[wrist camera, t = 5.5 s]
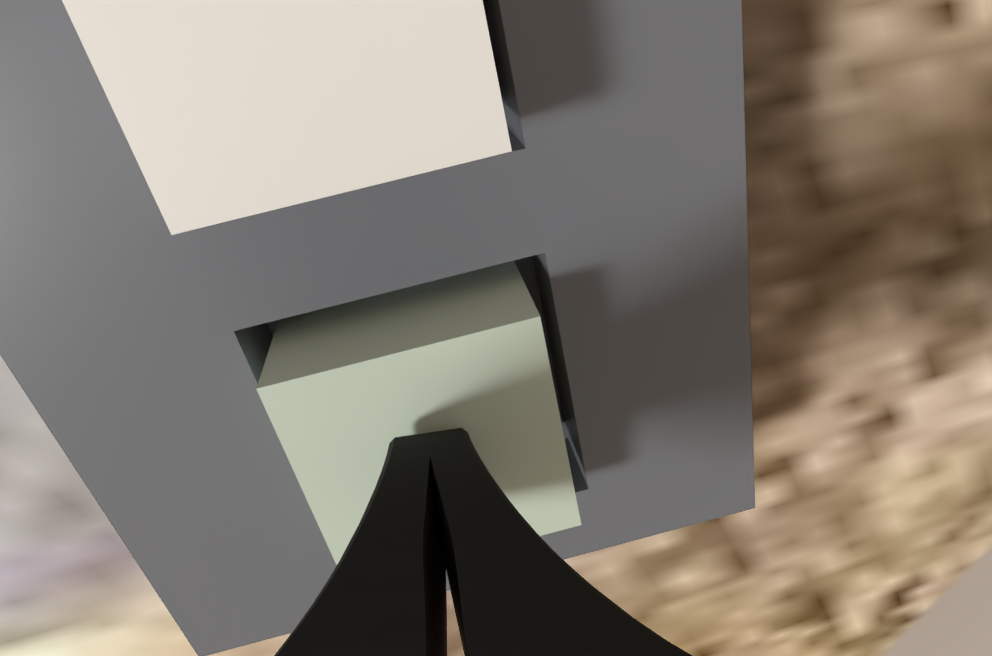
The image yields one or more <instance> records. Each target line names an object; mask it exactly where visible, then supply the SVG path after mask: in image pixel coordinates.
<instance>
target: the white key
mask: <svg viewBox="0 0 992 656" xmlns="http://www.w3.org/2000/svg"><path fill="white" fill-rule="evenodd" d="M62 2H63V4H64V6H65V8H66V10H67V12H68V15H69V17H70V19H71V21H72V23H73V25H74V27H75V30H76V32H77V34H78V36H79V38H80V40H81V42H82V45H83V47H84V49H85V51H86V53H87V55H88V57H89V59H90V62H91V64H92V66H93V68H94V70H95V72H96V74H97V77H98V79H99V81H100V83H101V85H102V87H103V89H104V92H105V94H106V96H107V98H108V100H109V102H110V104H111V107H112V109H113V111H114V113H115V115H116V117H117V119H118V122H119V124H120V126H121V128H122V130H123V132H124V134H125V137H126V139H127V141H128V143H129V145H130V147H131V149H132V152H133V154H134V156H135V158H136V160H137V162H138V164H139V167H140V169H141V171H142V173H143V175H144V177H145V179H146V182H147V184H148V186H149V188H150V190H151V192H152V194H153V197H154V199H155V201H156V203H157V205H158V207H159V209H160V212H161V214H162V216H163V218H164V220H165V222H166V224H167V227H168V229H169V231H170V233H171V235H174V234H178V233H182V232H186V231H190V230H195V229H199V228H203V227H207V226H211V225H215V224H219V223H223V222H227V221H231V220H235V219H239V218H243V217H247V216H251V215H255V214H260V213H264V212H268V211H272V210H276V209H280V208H284V207H288V206H292V205H296V204H300V203H304V202H308V201H312V200H316V199H320V198H325V197H329V196H333V195H337V194H341V193H345V192H349V191H353V190H357V189H361V188H365V187H369V186H373V185H377V184H381V183H386V182H390V181H394V180H398V179H402V178H406V177H410V176H414V175H418V174H422V173H426V172H430V171H434V170H438V169H442V168H446V167H451V166H455V165H459V164H463V163H467V162H471V161H475V160H479V159H483V158H487V157H491V156H495V155H499V154H503V153H507V152H511V151H512V149H511V144H510V139H509V134H508V129H507V123H506V118H505V113H504V108H503V103H502V98H501V93H500V87H499V82H498V77H497V72H496V67H495V62H494V57H493V51H492V46H491V41H490V36H489V31H488V26H487V21H486V15H485V10H484V5H483V0H62Z"/></svg>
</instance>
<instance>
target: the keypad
mask: <svg viewBox="0 0 992 656" xmlns="http://www.w3.org/2000/svg"><path fill="white" fill-rule="evenodd" d="M483 5H484V10H485V15H486V21H487V26H488V31H489V36H490V41H491V46H492V51H493V57H494V62H495V67H496V72H497V77H498V82H499V87H500V93H501V98H502V103H503V108H504V113H505V118H506V123H507V129H508V134H509V139H510V144H511V149H512V151H511V152H507V153H503V154H499V155H495V156H491V157H487V158H483V159H479V160H475V161H471V162H467V163H463V164H459V165H455V166H451V167H446V168H442V169H438V170H434V171H430V172H426V173H422V174H418V175H414V176H410V177H406V178H402V179H398V180H394V181H390V182H386V183H381V184H377V185H373V186H369V187H365V188H361V189H357V190H353V191H349V192H345V193H341V194H337V195H333V196H329V197H325V198H320V199H316V200H312V201H308V202H304V203H300V204H296V205H292V206H288V207H284V208H280V209H276V210H272V211H268V212H264V213H260V214H255V215H251V216H247V217H243V218H239V219H235V220H231V221H227V222H223V223H219V224H215V225H211V226H207V227H203V228H199V229H195V230H190V231H186V232H182V233H178V234H174V235H171V233H170V231H169V229H168V227H167V224H166V222H165V220H164V218H163V216H162V214H161V212H160V209H159V207H158V205H157V203H156V201H155V199H154V197H153V194H152V192H151V190H150V188H149V186H148V184H147V182H146V179H145V177H144V175H143V173H142V171H141V169H140V167H139V164H138V162H137V160H136V158H135V156H134V154H133V152H132V149H131V147H130V145H129V143H128V141H127V139H126V137H125V134H124V132H123V130H122V128H121V126H120V124H119V122H118V119H117V117H116V115H115V113H114V111H113V109H112V107H111V104H110V102H109V100H108V98H107V96H106V94H105V92H104V89H103V87H102V85H101V83H100V81H99V79H98V77H97V74H96V72H95V70H94V68H93V66H92V64H91V62H90V59H89V57H88V55H87V53H86V51H85V49H84V47H83V45H82V42H81V40H80V38H79V36H78V34H77V32H76V30H75V27H74V25H73V23H72V21H71V19H70V17H69V15H68V12H67V10H66V8H65V6H64V4H63V2H62V0H0V355H1V357H2V358H3V360H4V361H5V363H6V364H7V366H8V367H9V369H10V370H11V372H12V373H13V375H14V376H15V378H16V380H17V381H18V383H19V384H20V386H21V387H22V389H23V390H24V392H25V393H26V395H27V396H28V398H29V399H30V401H31V402H32V404H33V405H34V407H35V408H36V410H37V411H38V413H39V414H40V416H41V418H42V419H43V421H44V422H45V424H46V425H47V427H48V428H49V430H50V431H51V433H52V434H53V436H54V437H55V439H56V440H57V442H58V443H59V445H60V446H61V448H62V449H63V451H64V452H65V454H66V456H67V457H68V459H69V460H70V462H71V463H72V465H73V466H74V468H75V469H76V471H77V472H78V474H79V475H80V477H81V478H82V480H83V481H84V483H85V484H86V486H87V487H88V489H89V490H90V492H91V494H92V495H93V497H94V498H95V500H96V501H97V503H98V504H99V506H100V507H101V509H102V510H103V512H104V513H105V515H106V516H107V518H108V519H109V521H110V522H111V524H112V525H113V527H114V528H115V530H116V532H117V533H118V535H119V536H120V538H121V539H122V541H123V542H124V544H125V545H126V547H127V548H128V550H129V551H130V553H131V554H132V556H133V557H134V559H135V560H136V562H137V563H138V565H139V566H140V568H141V570H142V571H143V573H144V574H145V576H146V577H147V579H148V580H149V582H150V583H151V585H152V586H153V588H154V589H155V591H156V592H157V594H158V595H159V597H160V598H161V600H162V601H163V603H164V604H165V606H166V608H167V609H168V611H169V612H170V614H171V615H172V617H173V618H174V620H175V621H176V623H177V624H178V626H179V627H180V629H181V630H182V632H183V633H184V635H185V636H186V638H187V639H188V641H189V642H190V644H191V646H192V647H193V649H194V650H195V652H196V653H197V655H198V656H207V655H210V654H214V653H218V652H222V651H225V650H229V649H233V648H236V647H240V646H244V645H248V644H251V643H255V642H259V641H262V640H266V639H270V638H274V637H277V636H281V635H285V634H288V633H292V632H293V631H294V629H295V628H296V626H297V625H298V624H299V622H300V621H301V619H302V618H303V617H304V615H305V614H306V613H307V611H308V610H309V608H310V607H311V605H312V604H313V603H314V601H315V599H316V598H317V596H318V595H319V593H320V592H321V590H322V589H323V587H324V586H325V584H326V582H327V581H328V579H329V578H330V576H331V574H332V573H333V571H334V569H335V568H336V566H337V565H336V563H335V561H334V559H333V556H332V554H331V552H330V550H329V548H328V545H327V543H326V541H325V539H324V537H323V534H322V532H321V530H320V528H319V526H318V523H317V521H316V519H315V517H314V515H313V513H312V510H311V508H310V506H309V504H308V502H307V499H306V497H305V495H304V493H303V491H302V488H301V486H300V484H299V482H298V480H297V477H296V475H295V473H294V471H293V469H292V466H291V464H290V462H289V460H288V458H287V455H286V453H285V451H284V449H283V447H282V445H281V442H280V440H279V438H278V436H277V434H276V431H275V429H274V427H273V425H272V423H271V420H270V418H269V416H268V414H267V412H266V409H265V407H264V405H263V403H262V401H261V398H260V396H259V394H258V392H257V390H256V388H257V385H258V382H259V379H260V376H261V372H262V369H263V366H264V363H265V360H266V357H267V354H268V351H269V348H270V345H271V342H272V339H273V336H274V333H275V330H276V326H277V323H278V320H280V319H284V318H288V317H292V316H296V315H300V314H304V313H308V312H312V311H315V310H319V309H323V308H327V307H331V306H335V305H339V304H343V303H347V302H351V301H355V300H359V299H363V298H367V297H371V296H375V295H379V294H383V293H387V292H391V291H395V290H399V289H403V288H407V287H411V286H415V285H419V284H423V283H427V282H431V281H435V280H438V279H442V278H446V277H450V276H454V275H458V274H462V273H466V272H470V271H474V270H478V269H482V268H486V267H490V266H494V265H498V264H502V263H506V262H510V261H514V262H515V264H516V266H517V268H518V270H519V272H520V275H521V277H522V279H523V281H524V283H525V285H526V287H527V289H528V291H529V294H530V296H531V298H532V300H533V302H534V304H535V306H536V308H537V310H538V312H539V315H540V317H541V322H542V327H543V332H544V337H545V343H546V348H547V353H548V358H549V363H550V368H551V373H552V378H553V383H554V388H555V393H556V398H557V403H558V408H559V413H560V419H561V424H562V429H563V434H564V439H565V444H566V449H567V454H568V459H569V464H570V469H571V474H572V479H573V484H574V490H575V495H576V500H577V505H578V510H579V515H580V520H581V525H579V526H576V527H572V528H568V529H564V530H561V531H557V532H553V533H549V534H546V535H542V536H540V537H541V538H542V539H543V540H544V541H545V542H546V543H547V544H548V545H549V546H550V547H551V548H552V549H553V550H554V551H555V552H556V553H557V554H558V555H559V556H560V557H561V558H562V559H567V558H571V557H574V556H578V555H582V554H586V553H589V552H593V551H597V550H600V549H604V548H608V547H612V546H615V545H619V544H623V543H626V542H630V541H634V540H638V539H641V538H645V537H649V536H652V535H656V534H660V533H664V532H667V531H671V530H675V529H678V528H682V527H686V526H690V525H693V524H697V523H701V522H704V521H708V520H712V519H716V518H719V517H723V516H727V515H730V514H734V513H738V512H742V511H745V510H749V509H753V508H755V487H754V449H753V412H752V374H751V337H750V299H749V261H748V224H747V186H746V148H745V111H744V73H743V36H742V0H483ZM448 590H450V585H449V580H448V576H447V571H446V591H448Z"/></svg>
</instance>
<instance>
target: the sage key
mask: <svg viewBox="0 0 992 656" xmlns="http://www.w3.org/2000/svg"><path fill="white" fill-rule="evenodd" d="M256 390H257V392H258V394H259V396H260V398H261V401H262V403H263V405H264V407H265V409H266V412H267V414H268V416H269V418H270V420H271V423H272V425H273V427H274V429H275V431H276V434H277V436H278V438H279V440H280V442H281V445H282V447H283V449H284V451H285V453H286V455H287V458H288V460H289V462H290V464H291V466H292V469H293V471H294V473H295V475H296V477H297V480H298V482H299V484H300V486H301V488H302V491H303V493H304V495H305V497H306V499H307V502H308V504H309V506H310V508H311V510H312V513H313V515H314V517H315V519H316V521H317V523H318V526H319V528H320V530H321V532H322V534H323V537H324V539H325V541H326V543H327V545H328V548H329V550H330V552H331V554H332V556H333V559H334V561H335V563H336V565H337V564H338V562H339V561H340V559H341V557H342V555H343V553H344V552H345V550H346V548H347V546H348V544H349V542H350V540H351V538H352V536H353V534H354V533H355V531H356V529H357V527H358V525H359V523H360V521H361V519H362V517H363V514H364V512H365V510H366V508H367V505H368V503H369V501H370V498H371V496H372V494H373V492H374V489H375V487H376V484H377V482H378V479H379V476H380V474H381V471H382V468H383V465H384V462H385V459H386V455H387V451H388V447H389V443H390V442H391V441H392V440H393V439H394V438H395V437H401V436H408V435H415V434H422V433H429V432H436V431H442V430H449V429H456V428H463V429H464V430H465V431H467V432H468V434H469V437H470V439H471V441H472V443H473V446H474V448H475V449H476V451H477V453H478V455H479V457H480V458H481V460H482V462H483V463H484V465H485V466H486V468H487V470H488V471H489V473H490V474H491V476H492V477H493V479H494V480H495V482H496V483H497V484H498V486H499V487H500V488H501V490H502V491H503V492H504V494H505V495H506V496H507V498H508V499H509V500H510V502H511V503H512V504H513V506H514V507H515V508H516V509H517V511H518V512H519V513H520V514H521V515H522V517H523V518H524V519H525V520H526V521H527V522H528V523H529V525H530V526H531V527H532V528H533V529H534V530H535V532H536V533H537V534H538V535H539V536H542V535H546V534H549V533H553V532H557V531H561V530H564V529H568V528H572V527H576V526H579V525H581V520H580V515H579V510H578V505H577V500H576V495H575V490H574V484H573V479H572V474H571V469H570V464H569V459H568V454H567V449H566V444H565V439H564V434H563V429H562V424H561V419H560V413H559V408H558V403H557V398H556V393H555V388H554V383H553V378H552V373H551V368H550V363H549V358H548V353H547V348H546V343H545V337H544V332H543V327H542V322H541V317H540V315H539V312H538V310H537V308H536V306H535V304H534V302H533V300H532V298H531V296H530V294H529V291H528V289H527V287H526V285H525V283H524V281H523V279H522V277H521V275H520V272H519V270H518V268H517V266H516V264H515V262H514V261H510V262H506V263H502V264H498V265H494V266H490V267H486V268H482V269H478V270H474V271H470V272H466V273H462V274H458V275H454V276H450V277H446V278H442V279H438V280H435V281H431V282H427V283H423V284H419V285H415V286H411V287H407V288H403V289H399V290H395V291H391V292H387V293H383V294H379V295H375V296H371V297H367V298H363V299H359V300H355V301H351V302H347V303H343V304H339V305H335V306H331V307H327V308H323V309H319V310H315V311H312V312H308V313H304V314H300V315H296V316H292V317H288V318H284V319H280V320H278V323H277V326H276V330H275V333H274V336H273V339H272V342H271V345H270V348H269V351H268V354H267V357H266V360H265V363H264V366H263V369H262V372H261V376H260V379H259V382H258V385H257V388H256Z"/></svg>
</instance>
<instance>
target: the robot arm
mask: <svg viewBox="0 0 992 656" xmlns="http://www.w3.org/2000/svg"><path fill="white" fill-rule="evenodd" d="M446 571H447V576H448V580H449V585H450V590H451V594H452V599H453V603H454V608H455V613H456V617H457V622H458V626H459V631H460V636H461V640H462V645H463V650H464V654H465V656H692V655H690V654H689V653H687V652H685V651H683V650H682V649H680V648H678V647H677V646H675V645H673V644H671V643H670V642H668V641H667V640H665V639H663V638H662V637H661V636H659V635H658V634H656V633H655V632H653V631H652V630H650V629H649V628H647V627H646V626H644V625H643V624H642V623H640V622H639V621H637V620H636V619H634V618H633V617H631V616H630V615H629V614H628V613H626V612H625V611H624V610H622V609H621V608H620V607H619V606H617V605H616V604H615V603H614V602H612V601H611V600H610V599H608V598H607V597H606V596H605V595H603V594H602V593H601V592H599V591H598V590H597V589H596V588H594V587H593V586H592V585H591V584H589V583H588V582H587V581H586V580H585V579H584V578H583V577H581V576H580V575H579V574H578V573H577V572H576V571H575V570H574V569H572V568H571V567H570V566H569V565H568V564H567V563H566V562H565V561H564V560H563V559H562V558H561V557H560V556H559V555H558V554H557V553H556V552H555V551H554V550H553V549H552V548H551V547H550V546H549V545H548V544H547V543H546V542H545V541H544V540H543V539H542V538H541V537H540V536H539V535H538V534H537V533H536V532H535V530H534V529H533V528H532V527H531V526H530V525H529V523H528V522H527V521H526V520H525V519H524V518H523V517H522V515H521V514H520V513H519V512H518V511H517V509H516V508H515V507H514V506H513V504H512V503H511V502H510V500H509V499H508V498H507V496H506V495H505V494H504V492H503V491H502V490H501V488H500V487H499V486H498V484H497V483H496V482H495V480H494V479H493V477H492V476H491V474H490V473H489V471H488V470H487V468H486V466H485V465H484V463H483V462H482V460H481V458H480V457H479V455H478V453H477V451H476V449H475V448H474V446H473V443H472V441H471V439H470V437H469V434H468V432H467V431H465V430H464V429H463V428H456V429H449V430H442V431H436V432H429V433H422V434H415V435H408V436H401V437H395V438H394V439H393V440H392V441H391V442H390V443H389V447H388V451H387V455H386V459H385V462H384V465H383V468H382V471H381V474H380V476H379V479H378V482H377V484H376V487H375V489H374V492H373V494H372V496H371V498H370V501H369V503H368V505H367V508H366V510H365V512H364V514H363V517H362V519H361V521H360V523H359V525H358V527H357V529H356V531H355V533H354V534H353V536H352V538H351V540H350V542H349V544H348V546H347V548H346V550H345V552H344V553H343V555H342V557H341V559H340V561H339V562H338V564H337V566H336V568H335V569H334V571H333V573H332V574H331V576H330V578H329V579H328V581H327V582H326V584H325V586H324V587H323V589H322V590H321V592H320V593H319V595H318V596H317V598H316V599H315V601H314V603H313V604H312V605H311V607H310V608H309V610H308V611H307V613H306V614H305V615H304V617H303V618H302V619H301V621H300V622H299V624H298V625H297V626H296V628H295V629H294V631H293V632H292V633H291V635H290V636H289V637H288V639H287V640H286V641H285V643H284V644H283V645H282V647H281V648H280V649H279V650H278V652H277V653H276V654H275V655H274V656H447V609H446Z"/></svg>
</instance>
